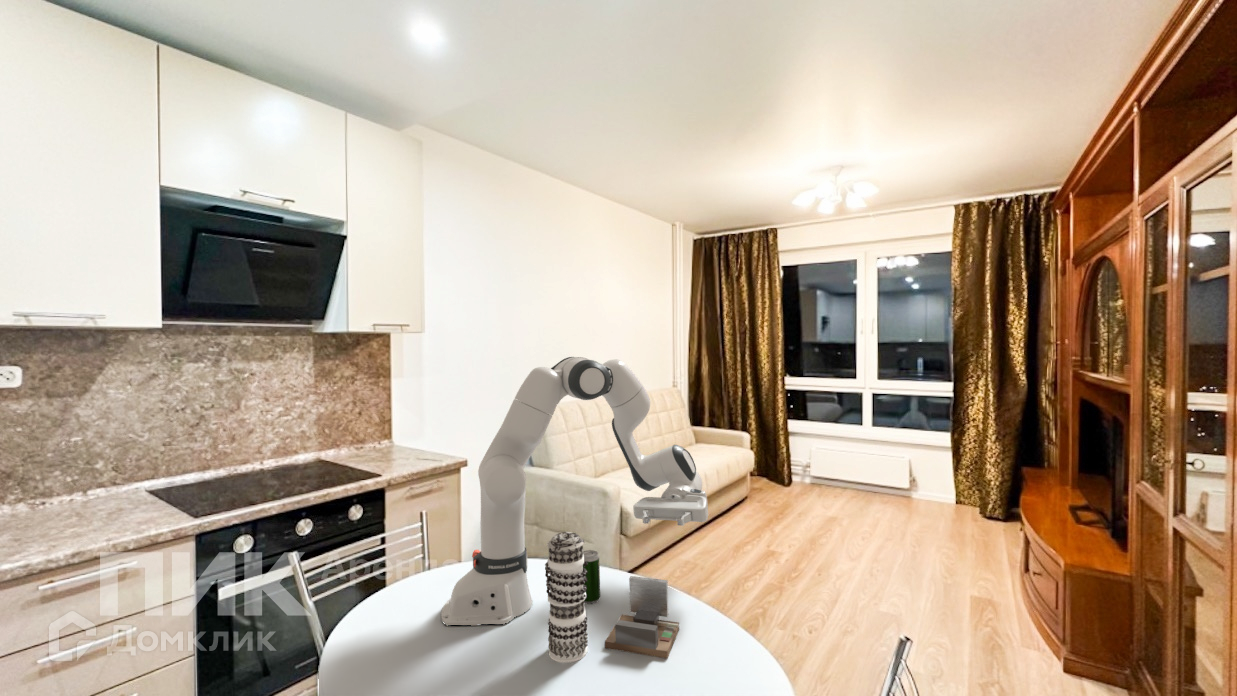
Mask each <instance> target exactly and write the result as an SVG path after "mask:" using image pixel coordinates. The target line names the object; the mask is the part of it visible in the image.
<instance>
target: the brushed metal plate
mask: <svg viewBox="0 0 1237 696" xmlns="http://www.w3.org/2000/svg"><path fill="white" fill-rule="evenodd" d="M628 580H629V612H630V613H635V614H634V615H633V616H634V618H633V622H635V623H642V624H649V625H656V626H657V625H661V626H667V627H674V628H678V627H679V628H680V623H679V624H675V623H668V622H661V621H659V620H660V617H663V618H668V617H669V591H668V590H669V588H668V586H669V584H668V580H667V579H660V578H659V579H658V578H652V577H642V576H636V575H635V576H633V575H630V576H629V578H628Z"/></svg>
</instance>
